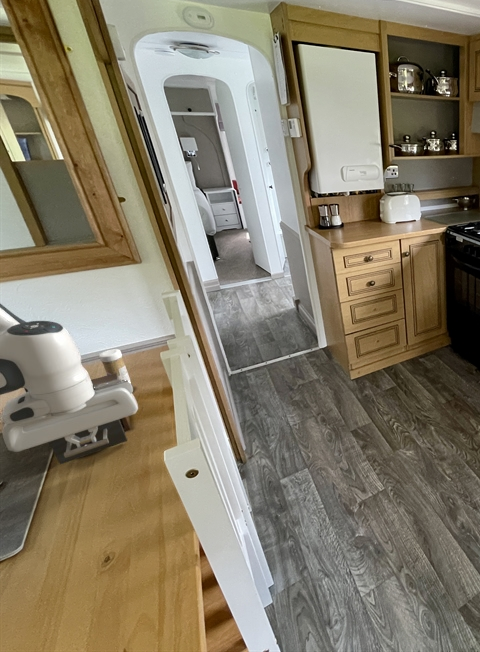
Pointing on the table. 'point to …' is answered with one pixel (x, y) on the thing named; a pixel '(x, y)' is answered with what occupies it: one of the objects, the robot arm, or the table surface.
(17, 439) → the robot arm
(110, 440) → the drawer
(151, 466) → the table surface
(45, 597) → the table surface
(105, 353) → the sprinkles bottle
